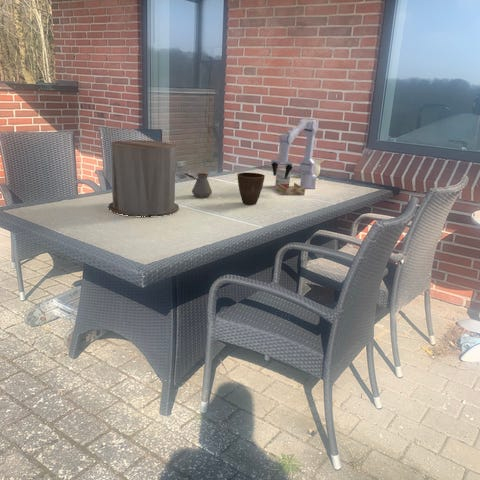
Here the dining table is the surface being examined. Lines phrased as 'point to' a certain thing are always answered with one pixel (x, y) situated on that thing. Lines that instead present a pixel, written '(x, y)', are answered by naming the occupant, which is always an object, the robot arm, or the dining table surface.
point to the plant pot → (250, 187)
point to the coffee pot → (201, 186)
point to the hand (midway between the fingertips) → (280, 176)
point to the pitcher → (317, 166)
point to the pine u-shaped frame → (291, 190)
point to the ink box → (282, 178)
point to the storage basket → (143, 178)
